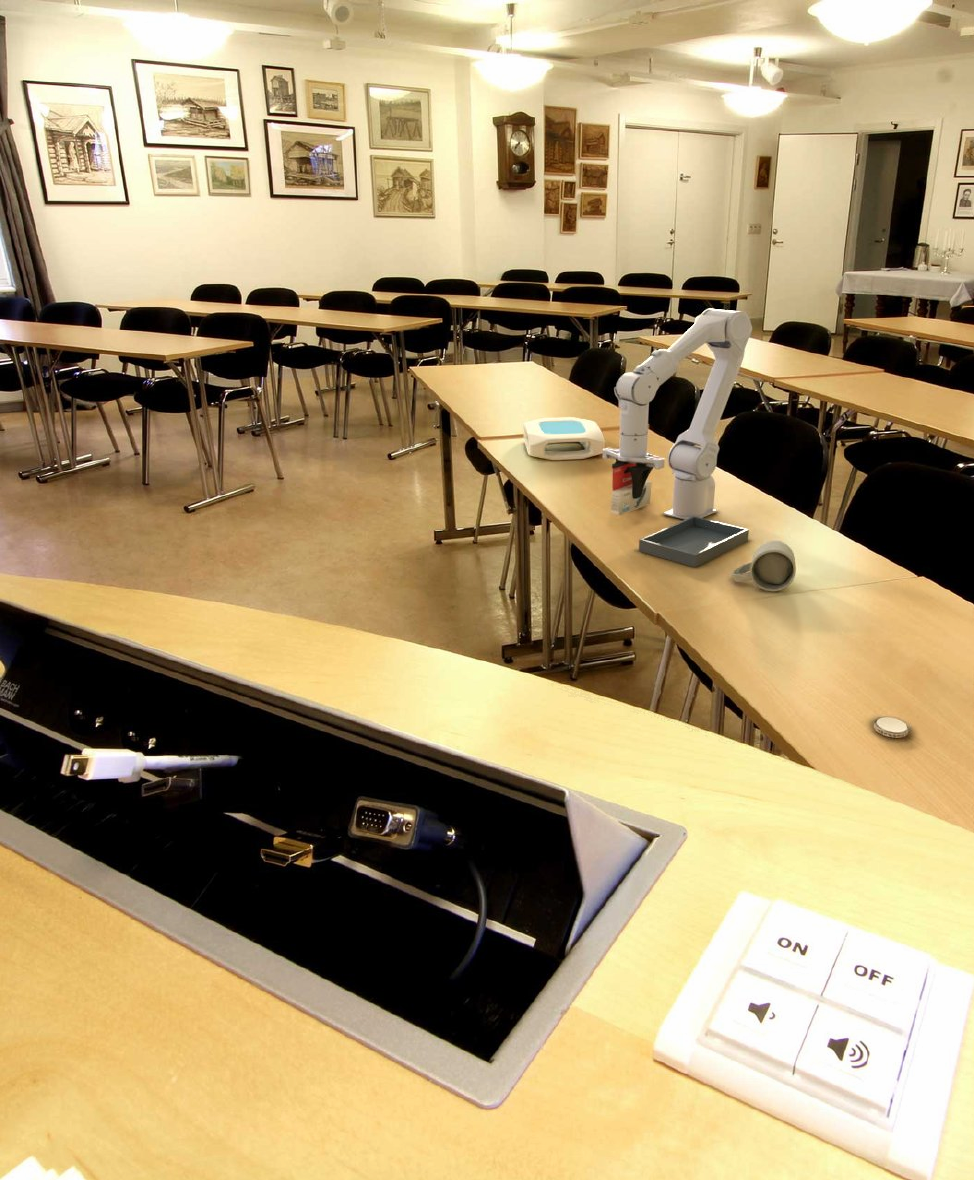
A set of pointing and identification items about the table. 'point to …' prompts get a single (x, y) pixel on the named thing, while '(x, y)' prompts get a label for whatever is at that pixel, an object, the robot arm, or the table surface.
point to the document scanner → (563, 437)
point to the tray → (693, 541)
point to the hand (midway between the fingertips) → (631, 496)
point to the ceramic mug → (769, 567)
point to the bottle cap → (891, 727)
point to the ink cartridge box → (626, 492)
